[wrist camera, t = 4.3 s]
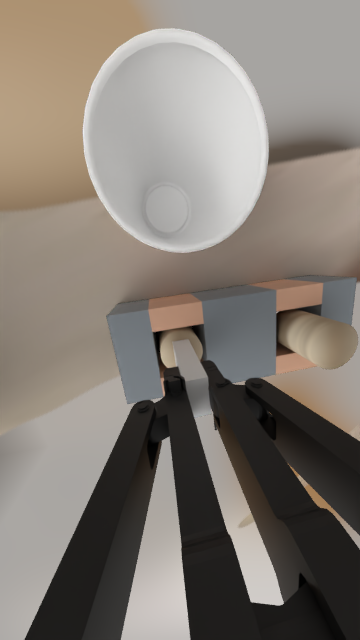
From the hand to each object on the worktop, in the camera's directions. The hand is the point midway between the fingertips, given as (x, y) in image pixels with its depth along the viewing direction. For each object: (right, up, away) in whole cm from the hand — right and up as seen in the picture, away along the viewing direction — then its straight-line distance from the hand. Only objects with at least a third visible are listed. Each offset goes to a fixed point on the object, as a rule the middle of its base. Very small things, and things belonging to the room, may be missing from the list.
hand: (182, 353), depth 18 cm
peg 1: (-1, +2, +6) cm, 6 cm away
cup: (-2, +15, +3) cm, 15 cm away
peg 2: (+11, +2, +3) cm, 12 cm away
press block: (+5, +3, +7) cm, 9 cm away
